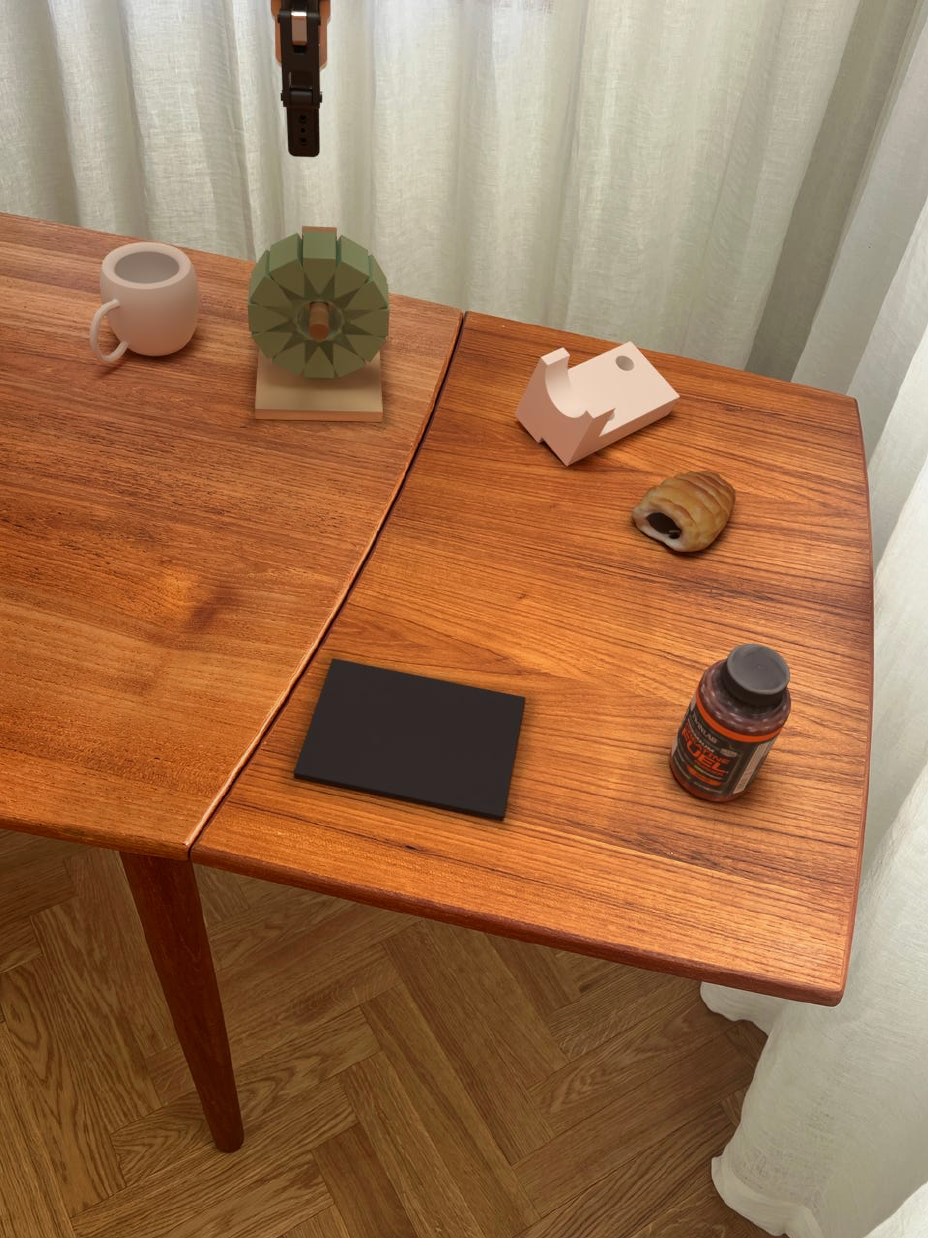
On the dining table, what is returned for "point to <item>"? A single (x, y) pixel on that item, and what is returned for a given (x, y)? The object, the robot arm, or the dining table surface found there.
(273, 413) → the peg stand with base
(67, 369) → the dining table surface
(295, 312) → the green grooved wheel
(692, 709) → the supplement bottle
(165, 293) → the mug
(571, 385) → the bracket
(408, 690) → the mat
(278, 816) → the dining table surface
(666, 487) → the pastry
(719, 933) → the dining table surface
